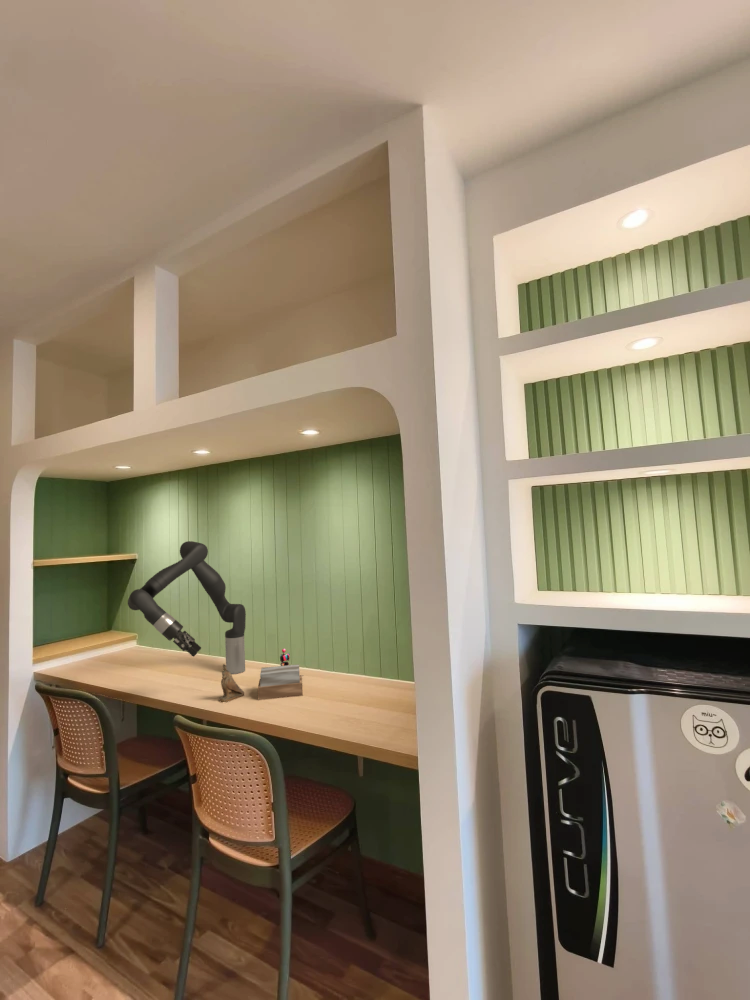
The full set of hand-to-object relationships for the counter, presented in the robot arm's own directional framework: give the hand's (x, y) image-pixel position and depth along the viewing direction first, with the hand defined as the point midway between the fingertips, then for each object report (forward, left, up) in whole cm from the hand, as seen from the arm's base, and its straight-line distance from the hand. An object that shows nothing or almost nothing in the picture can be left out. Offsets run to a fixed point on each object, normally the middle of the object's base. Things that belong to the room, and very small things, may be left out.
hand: (197, 652), depth 203 cm
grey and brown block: (0, +33, -20) cm, 39 cm away
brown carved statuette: (0, +13, -20) cm, 24 cm away
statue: (-17, +36, -20) cm, 45 cm away
